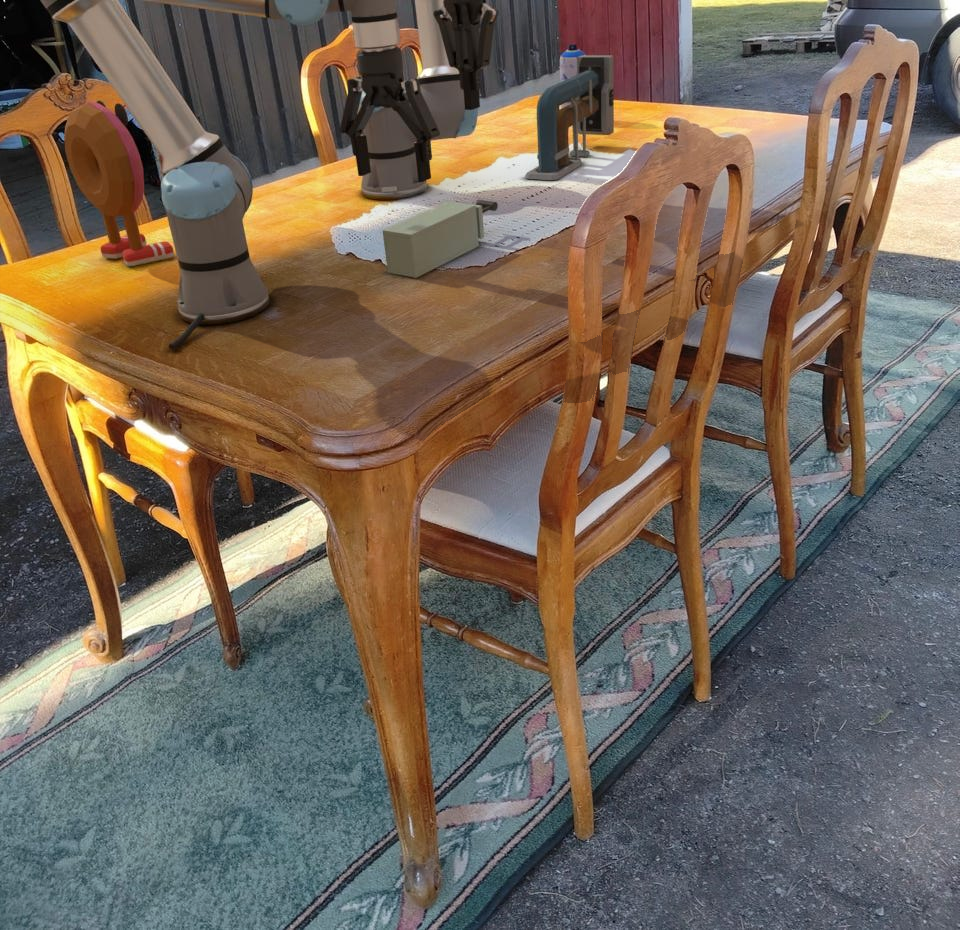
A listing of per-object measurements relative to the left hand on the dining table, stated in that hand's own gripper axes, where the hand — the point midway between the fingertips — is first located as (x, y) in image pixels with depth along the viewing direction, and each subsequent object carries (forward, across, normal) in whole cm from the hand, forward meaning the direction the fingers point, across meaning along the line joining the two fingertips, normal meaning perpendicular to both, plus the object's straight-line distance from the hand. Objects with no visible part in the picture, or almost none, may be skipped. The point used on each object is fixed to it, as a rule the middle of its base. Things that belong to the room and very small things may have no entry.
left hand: (394, 177), depth 171 cm
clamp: (+16, +8, -77) cm, 79 cm away
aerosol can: (+16, +31, -120) cm, 125 cm away
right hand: (-8, -4, -20) cm, 22 cm away
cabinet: (+16, -3, -5) cm, 17 cm away
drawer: (+15, -4, -11) cm, 19 cm away
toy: (+16, +56, +17) cm, 60 cm away
